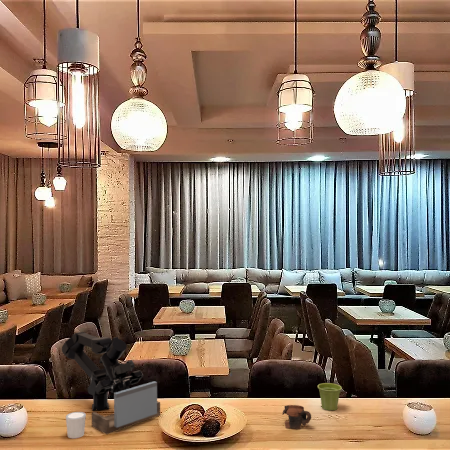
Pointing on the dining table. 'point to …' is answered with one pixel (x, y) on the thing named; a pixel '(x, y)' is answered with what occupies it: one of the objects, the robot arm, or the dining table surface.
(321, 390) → the plant pot
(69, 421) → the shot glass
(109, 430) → the tray
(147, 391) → the panel
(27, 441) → the dining table surface
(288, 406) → the pottery mug
